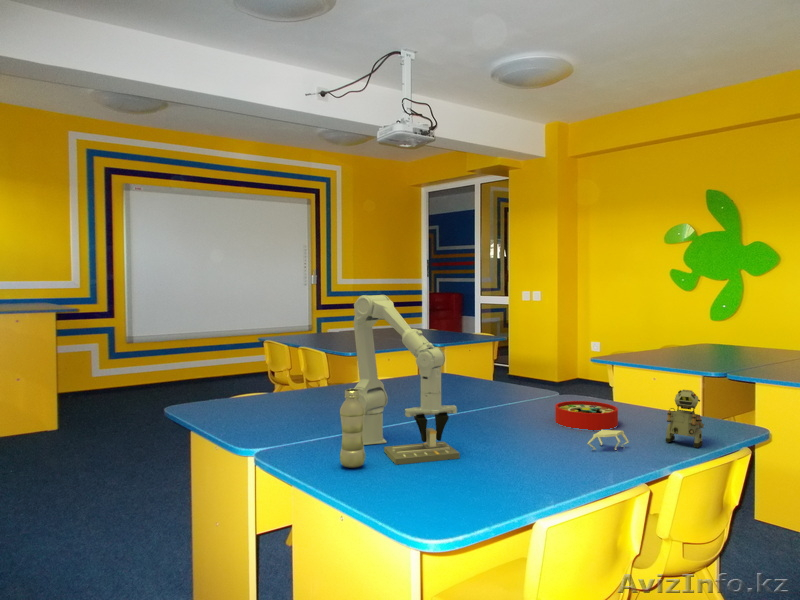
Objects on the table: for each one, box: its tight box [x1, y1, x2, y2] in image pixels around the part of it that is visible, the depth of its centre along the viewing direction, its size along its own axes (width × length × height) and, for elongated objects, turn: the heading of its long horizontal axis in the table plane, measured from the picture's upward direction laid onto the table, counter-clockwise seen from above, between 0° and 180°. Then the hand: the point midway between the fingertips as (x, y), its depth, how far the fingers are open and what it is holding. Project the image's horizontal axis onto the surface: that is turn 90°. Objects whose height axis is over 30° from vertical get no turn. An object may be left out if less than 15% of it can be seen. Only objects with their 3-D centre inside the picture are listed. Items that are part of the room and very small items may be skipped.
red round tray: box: [554, 400, 619, 430], centre depth 193 cm, size 20×6×20 cm
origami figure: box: [587, 429, 630, 451], centre depth 163 cm, size 12×8×5 cm
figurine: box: [665, 389, 705, 449], centre depth 168 cm, size 9×12×15 cm
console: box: [383, 440, 461, 466], centre depth 158 cm, size 18×12×2 cm, turn 106°
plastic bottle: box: [339, 388, 366, 469], centre depth 149 cm, size 6×7×20 cm
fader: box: [423, 427, 440, 449], centre depth 159 cm, size 4×3×5 cm
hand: (431, 440), depth 159 cm, fingers open, 4 cm apart
